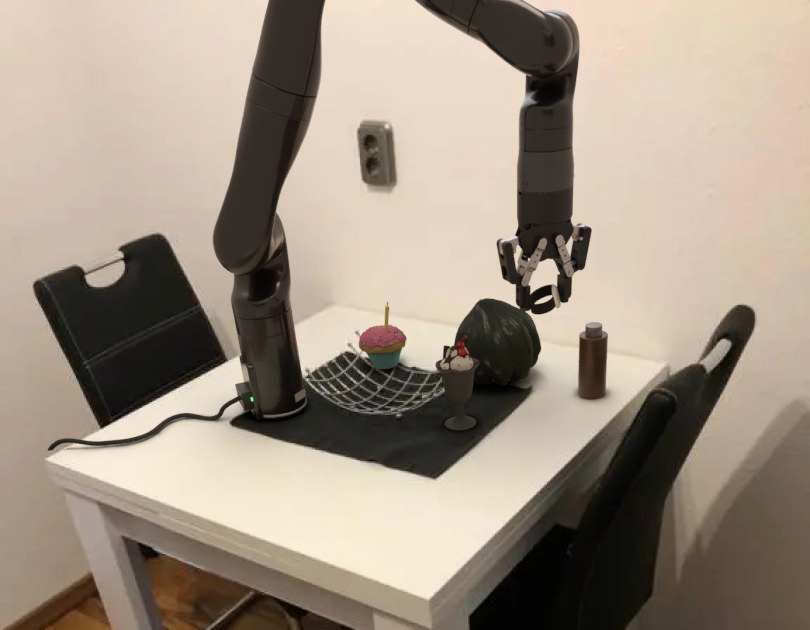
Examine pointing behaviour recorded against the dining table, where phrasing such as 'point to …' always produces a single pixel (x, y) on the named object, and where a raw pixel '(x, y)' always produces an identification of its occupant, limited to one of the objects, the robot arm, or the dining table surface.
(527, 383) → the dining table surface
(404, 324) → the dining table surface
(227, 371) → the dining table surface
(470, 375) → the sundae
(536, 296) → the watch
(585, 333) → the pepper mill
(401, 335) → the cupcake
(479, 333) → the squash
